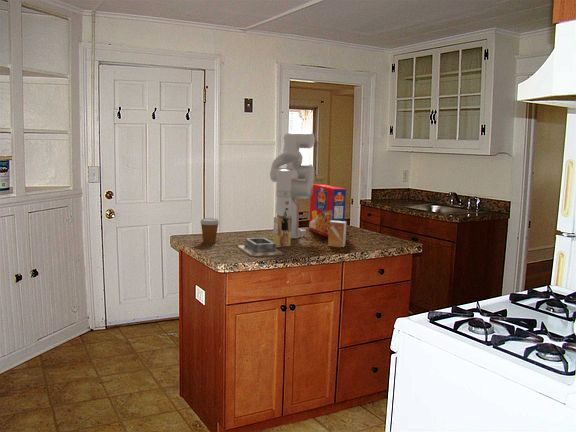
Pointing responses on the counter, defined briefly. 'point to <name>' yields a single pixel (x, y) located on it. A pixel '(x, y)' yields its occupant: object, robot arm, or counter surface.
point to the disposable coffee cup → (209, 230)
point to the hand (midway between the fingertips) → (282, 228)
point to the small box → (337, 233)
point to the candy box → (281, 232)
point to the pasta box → (326, 207)
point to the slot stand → (259, 247)
